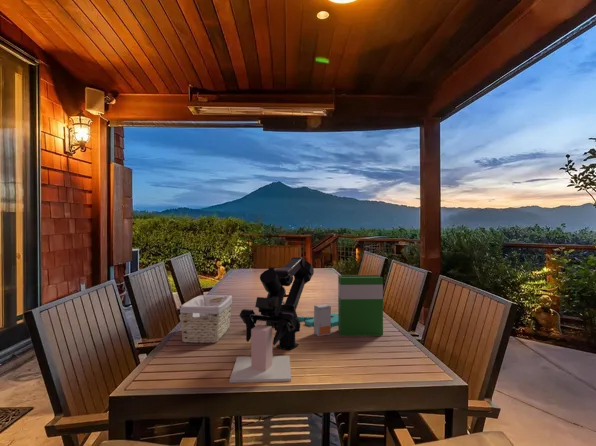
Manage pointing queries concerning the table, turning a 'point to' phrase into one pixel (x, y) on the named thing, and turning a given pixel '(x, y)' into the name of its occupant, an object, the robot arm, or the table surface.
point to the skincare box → (322, 320)
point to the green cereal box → (360, 305)
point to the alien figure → (310, 320)
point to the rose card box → (261, 347)
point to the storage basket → (205, 318)
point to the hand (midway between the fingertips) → (260, 342)
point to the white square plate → (273, 374)
